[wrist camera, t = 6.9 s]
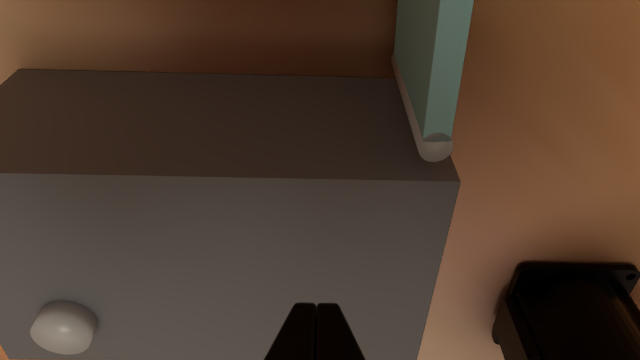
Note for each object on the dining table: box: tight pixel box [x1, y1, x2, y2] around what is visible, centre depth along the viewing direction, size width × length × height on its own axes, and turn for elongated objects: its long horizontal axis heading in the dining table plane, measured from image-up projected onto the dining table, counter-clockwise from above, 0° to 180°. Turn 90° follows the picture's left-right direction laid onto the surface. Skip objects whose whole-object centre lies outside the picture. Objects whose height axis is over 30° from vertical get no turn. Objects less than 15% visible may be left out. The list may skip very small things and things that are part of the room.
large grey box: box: [0, 69, 460, 360], centre depth 19 cm, size 19×9×8 cm, turn 88°
